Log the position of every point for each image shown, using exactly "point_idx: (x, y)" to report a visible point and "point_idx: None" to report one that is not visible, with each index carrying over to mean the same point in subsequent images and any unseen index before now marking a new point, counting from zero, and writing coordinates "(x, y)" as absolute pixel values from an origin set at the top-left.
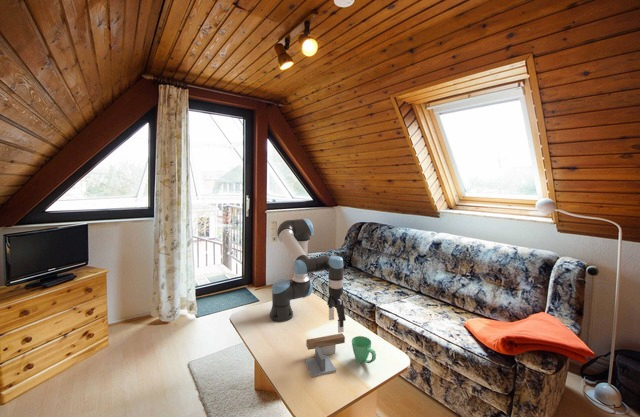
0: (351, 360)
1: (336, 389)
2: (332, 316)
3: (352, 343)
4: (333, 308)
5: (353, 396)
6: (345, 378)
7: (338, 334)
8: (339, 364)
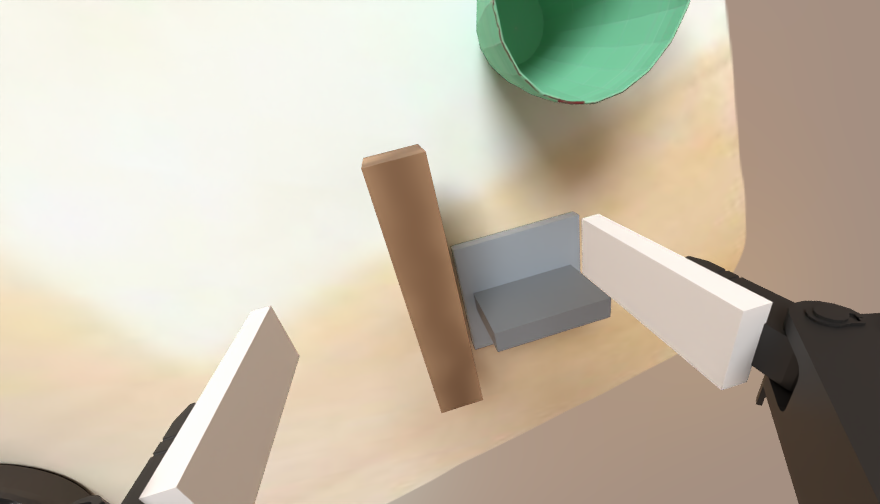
0: (503, 105)
1: (671, 218)
2: (266, 356)
3: (595, 102)
4: (189, 485)
5: (733, 150)
6: (628, 169)
7: (384, 207)
8: (524, 186)
